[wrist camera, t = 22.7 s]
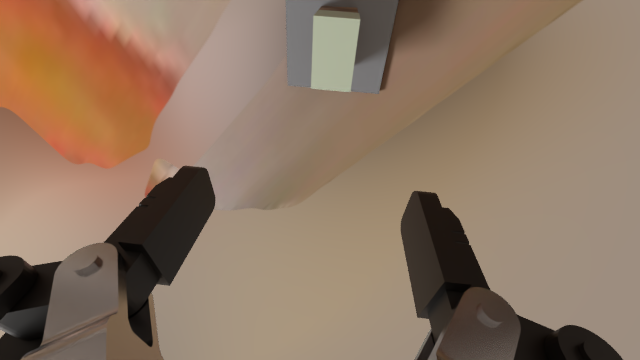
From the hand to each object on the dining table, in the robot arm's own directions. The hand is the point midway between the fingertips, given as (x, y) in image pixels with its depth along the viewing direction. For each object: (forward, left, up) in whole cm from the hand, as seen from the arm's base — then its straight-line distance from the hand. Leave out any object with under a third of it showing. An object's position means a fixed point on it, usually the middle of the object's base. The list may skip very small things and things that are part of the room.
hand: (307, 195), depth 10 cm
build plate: (0, 0, -32) cm, 32 cm away
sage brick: (0, 0, -26) cm, 26 cm away
